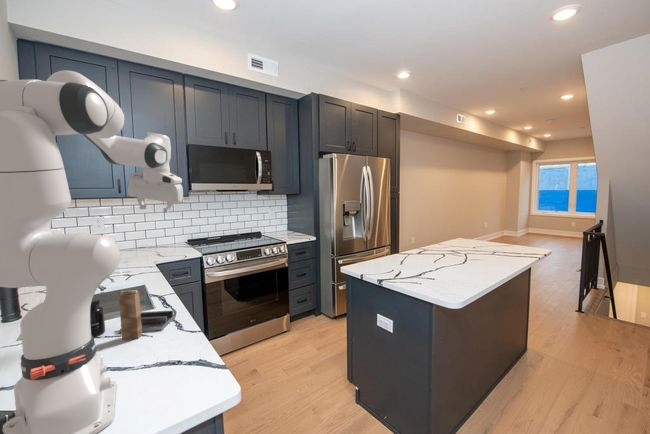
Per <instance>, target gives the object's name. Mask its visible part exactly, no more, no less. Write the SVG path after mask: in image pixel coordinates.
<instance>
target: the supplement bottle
mask: <svg viewBox="0 0 650 434" xmlns="http://www.w3.org/2000/svg"><path fill="white" fill-rule="evenodd" d="M100 300H101V299H100V298H92V302H91V307H90V324H91V335H92V336H93V337H94V338H97V337H99V336H101V335H103V334H104V333H105V332H106V322H105V309H104V307H103V306H102V305H101V303H100V302H101V301H100Z"/></svg>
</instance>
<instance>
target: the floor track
mask: <svg viewBox="0 0 650 434" xmlns="http://www.w3.org/2000/svg"><path fill="white" fill-rule="evenodd" d="M175 318H176V315H175V313H174V310H161V311H160V310H159V311H142V312H141V324H142V333H145V332H159V331H161V332H162V331H163V330H165V329H166V328H167V327H168V326H167V325H168V324H169V325H170V324H171V323H172V322H173V321H174V320H175ZM170 322H171V323H170ZM166 326H167V327H166ZM165 327H166V328H165ZM164 328H165V329H164ZM119 331H120V334H122V329H121V328H120V330H119Z"/></svg>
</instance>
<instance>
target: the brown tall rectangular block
mask: <svg viewBox="0 0 650 434" xmlns="http://www.w3.org/2000/svg"><path fill="white" fill-rule="evenodd" d="M119 293H120V294H119V295H118V303H119V317H120V329H122V333H121V338H122V339H121V340H122V341H125V340H139V339H140V338H141V337H142V336H143V332H142V324H141V300H140V292H139V291H138V290H137V289H136V290H133V289H132V290H121V291H120V292H119Z"/></svg>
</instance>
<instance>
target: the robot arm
mask: <svg viewBox="0 0 650 434" xmlns="http://www.w3.org/2000/svg"><path fill="white" fill-rule="evenodd" d="M124 125H125V113H124V112H123V109H122V108H121V107H120V105H119V104H118V103H117V102H116V101H115V100H114V99H113V98H112V97H111V96H110V95H109V94H108V93H107V92H105V90H104V89H102V88H101V87H100V86H99V85H97V84H96V83H95V82H94V81H92V79H91V80H90V78H87V77H86V76H84V75H83V74H82V73H79V72H77V71H74V70H65V69H64V70H59V71H56V72H54V73H52V74H51V75H49V77H48V78H47V79H46V80H40V79H35V78H34V79H30V78H29V79H12V80H7V79H0V288H8V289H16V288H30V287H31V288H32V287H43V286H44V287H45V289H46V294H45V298H44V300H43V302H41V303H39V304H37V305H36V306H34V307H32V308H30V309H29V310H28V311H27V312H26V313H25V314H24V316H23V317H22V319H21V321H20V324H19V326H20V334H21V335H20V336H21V344H22V353H23V354H22V355H21V356H20V369H21V374H22V377H21V378H20V379H19V380H18V381H17V382H15V384H13V392H14V395H13V396H14V401H15V402H14V405H15V410H13V413H12V415H13V416H12V418H10V419H9V420H8V421H6V422H5V423H4V424H3V425H2V433H3V434H98V433H99V432H101V431H102V430H105V428H106V427H108V426H109V425H111V424H112V423H113V422H114V419H115V411H116V400H117V389H118V384H117V381H114V380H112V381H111V377H106V376H105V375H106V373H107V372H108V366H107V365H104V364H105V363H104V356H103V355H101V354H98V353H96V352H97V351H96V341H95V337H93V336H92V335H91V324H90V307H91V302H92V299H94V295H95V293H96V291H97V290H98V288H99V287H100V286H101V284H103V282H104V281H106V279H108V278H109V277H111V276H112V275H113V274H114V273H115V271H116V270H117V269H118V268H119V267H118V266H119V264H120V261H121V251H120V248H119V246H118V244H117V243H116V242H115V240H114V239H113V238H111V236H107V235H101V234H95V233H87V232H81V233H80V232H79V233H56V234H55V233H54V234H53V232H52V229H51V227H52V221H53V219H54V218H56V217H57V216H58V217H59V216H60V215H62V214H63V213H64V212H66V211H67V210H68V208H69V207H70V205H71V202H72V196H71V193H70V188H69V183H68V178H67V174H66V170H65V166H64V161H63V157H62V154H61V152H60V149H59V146H58V143H57V142H56V137H57V136H70V135H71V136H72V135H80V134H81V135H82V136H83V137H85V139H87V140H88V141H89V142H90V143H91V144H92V145H94V146H95V147H96V148H97V149H98V150H99V152H100V153H101V155H102V156H103V158H104V159H105V160H106V161H107V162H109V163H110V164H111V165H121V166H122V165H123V166H129V167H130V166H131V167H136V168H143V171H142V173H138V172H133V173H131V174H130V175H129V180H128V181H129V182H128V187H127V195H128V196H129V197H134V198H136V200H137V202H138V204H139V210H146V209H147V204H145V203H144V200H145V199H146V200H152V201H153V200H154V201H159V202H165V203H166V205H167V206H166V207H165V208H163V211H162V212H163V213H164V214H169V213H170V211H171V210H170V209H171V207H172V206H173V205H174V204H181V203H182V202H183V200H184V189H183V185H182V183H183V178H181V177H179V176H178V175H176V174H173V173H171V169H170V168H171V166H170V161H171V159H172V157H171V156H172V147H171V146H172V145H171V139H170V137H169V136H168V135H165V134H163V133H160V132H155V131H147V133H146V136H145V138H142V139H139V138H132V137H127V136H121V135H118V134H119V133H120V132H121V131H122V129H123V127H124Z"/></svg>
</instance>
